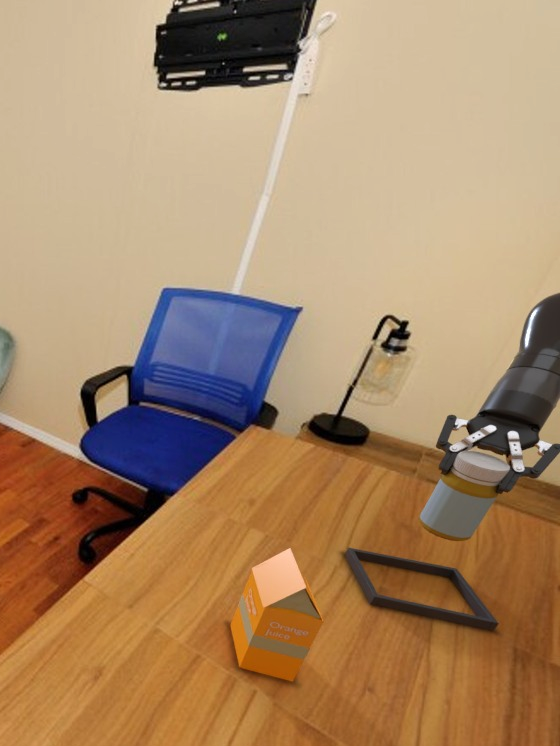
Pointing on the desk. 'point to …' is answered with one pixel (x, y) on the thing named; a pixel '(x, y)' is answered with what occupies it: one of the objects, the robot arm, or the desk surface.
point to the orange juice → (275, 619)
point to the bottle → (463, 496)
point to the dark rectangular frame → (479, 621)
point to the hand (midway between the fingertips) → (471, 482)
